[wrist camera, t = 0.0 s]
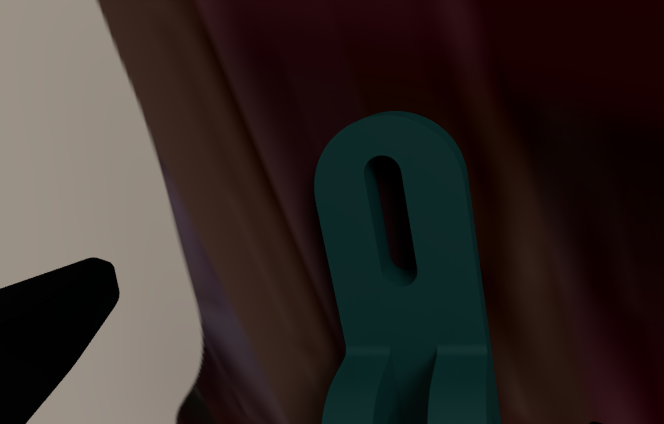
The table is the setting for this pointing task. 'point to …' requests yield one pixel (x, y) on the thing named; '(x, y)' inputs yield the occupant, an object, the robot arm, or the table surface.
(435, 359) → the bracket
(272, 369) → the table surface
